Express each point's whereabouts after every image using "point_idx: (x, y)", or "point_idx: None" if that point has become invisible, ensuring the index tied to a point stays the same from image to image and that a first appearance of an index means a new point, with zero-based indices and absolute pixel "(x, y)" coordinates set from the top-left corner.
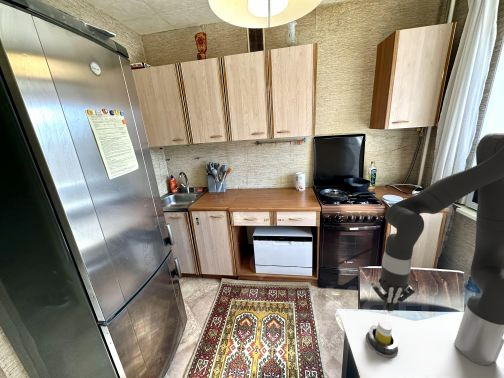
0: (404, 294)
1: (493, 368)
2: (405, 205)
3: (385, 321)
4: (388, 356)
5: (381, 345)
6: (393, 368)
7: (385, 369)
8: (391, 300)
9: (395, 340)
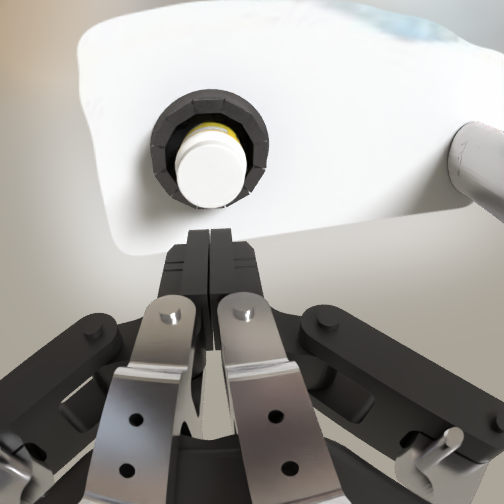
0: (367, 436)
1: None
2: None
3: (221, 154)
4: None
5: (186, 200)
6: None
7: None
8: (204, 382)
9: (259, 167)
